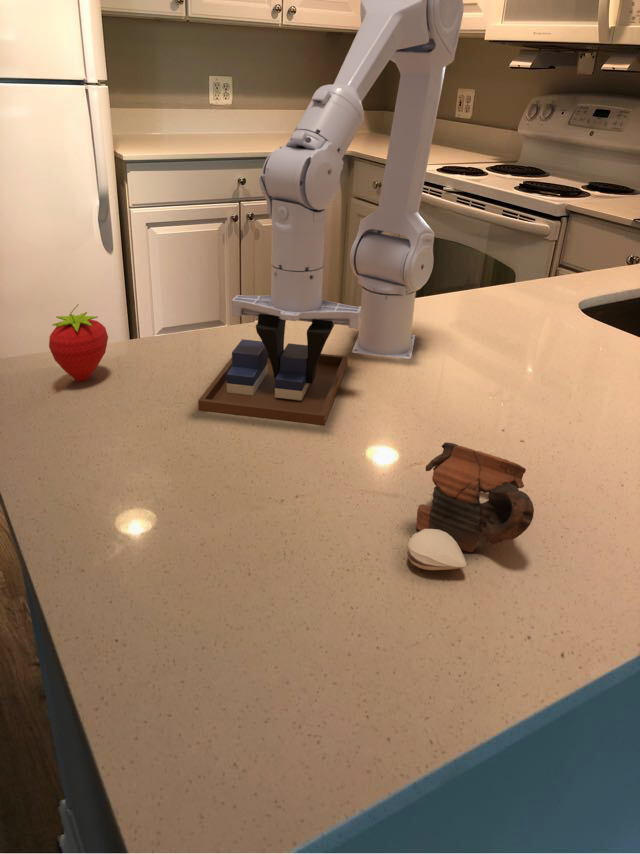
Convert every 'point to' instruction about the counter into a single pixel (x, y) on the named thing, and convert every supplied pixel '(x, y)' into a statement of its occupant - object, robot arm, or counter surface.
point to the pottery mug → (476, 497)
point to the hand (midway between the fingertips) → (294, 378)
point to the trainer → (292, 373)
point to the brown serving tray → (269, 407)
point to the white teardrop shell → (435, 551)
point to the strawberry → (78, 344)
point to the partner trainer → (247, 367)
